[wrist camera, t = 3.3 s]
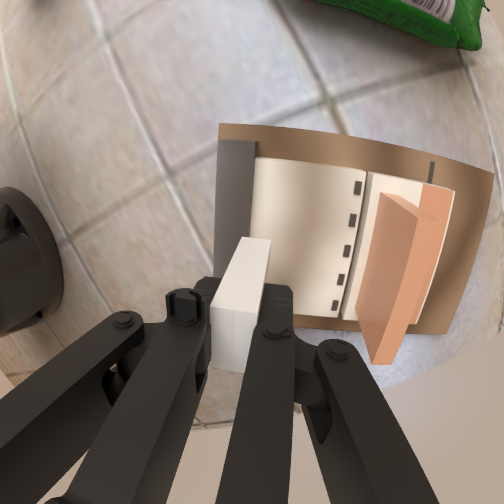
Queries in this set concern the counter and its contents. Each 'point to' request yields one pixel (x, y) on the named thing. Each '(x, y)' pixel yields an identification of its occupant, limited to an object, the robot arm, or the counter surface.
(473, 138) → the counter surface
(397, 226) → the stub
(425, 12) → the snack package
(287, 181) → the wooden base board
